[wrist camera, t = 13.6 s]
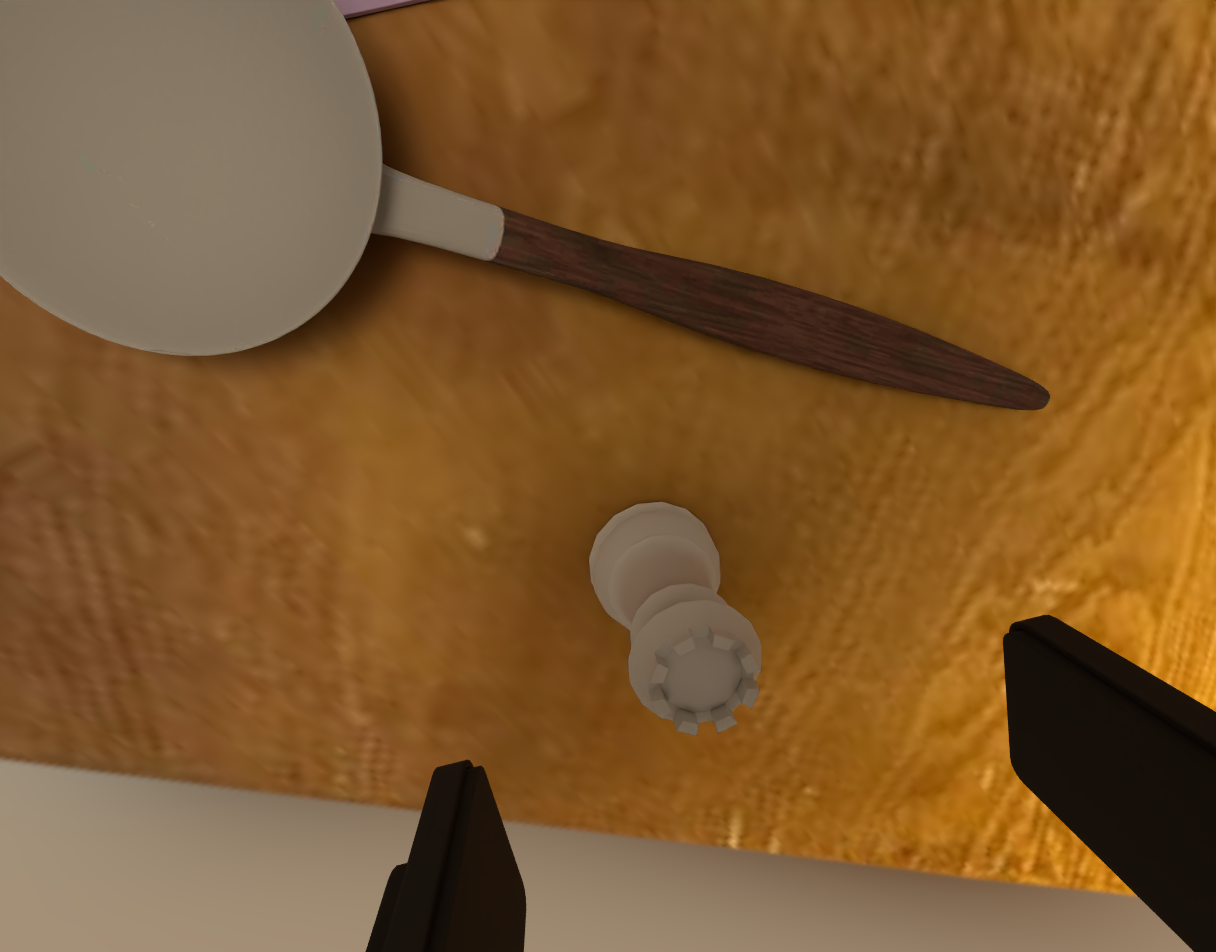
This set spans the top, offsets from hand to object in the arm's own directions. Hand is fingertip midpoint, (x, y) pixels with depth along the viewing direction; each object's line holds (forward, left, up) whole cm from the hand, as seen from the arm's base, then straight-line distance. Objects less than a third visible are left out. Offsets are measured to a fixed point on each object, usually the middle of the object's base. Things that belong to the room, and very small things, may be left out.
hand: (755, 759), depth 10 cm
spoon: (0, -10, -11) cm, 15 cm away
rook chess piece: (0, 0, -11) cm, 11 cm away
